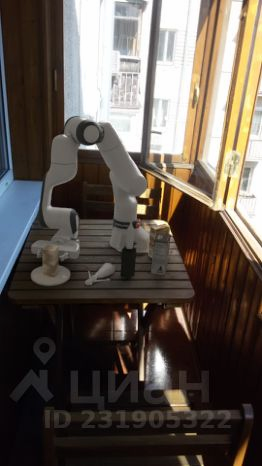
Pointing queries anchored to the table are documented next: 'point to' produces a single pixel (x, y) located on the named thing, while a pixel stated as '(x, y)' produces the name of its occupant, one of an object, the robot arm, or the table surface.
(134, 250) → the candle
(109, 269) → the woman figurine
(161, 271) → the coffee box
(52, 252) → the maple block
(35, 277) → the plate
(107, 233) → the table surface
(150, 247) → the candy box
